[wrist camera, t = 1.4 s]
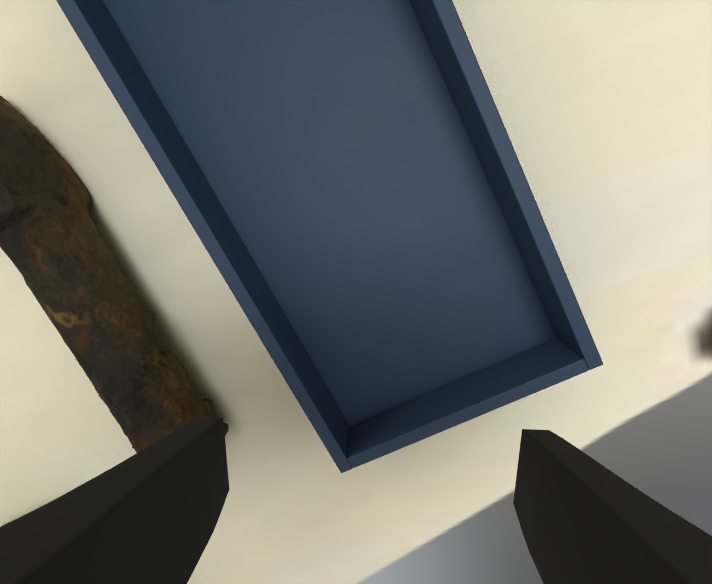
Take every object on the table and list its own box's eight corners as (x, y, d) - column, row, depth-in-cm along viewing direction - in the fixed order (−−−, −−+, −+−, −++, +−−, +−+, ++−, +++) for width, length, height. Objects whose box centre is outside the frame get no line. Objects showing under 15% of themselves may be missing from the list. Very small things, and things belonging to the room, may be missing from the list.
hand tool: (243, 424, 20) (205, 487, 16) (180, 446, 21) (125, 513, 16) (57, 71, 17) (-63, 21, 12) (-14, 110, 17) (-153, 75, 13)
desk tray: (346, 434, 20) (341, 473, 17) (64, -49, 15) (-10, -108, 13) (567, 338, 18) (604, 364, 15) (316, -244, 14) (300, -366, 11)
